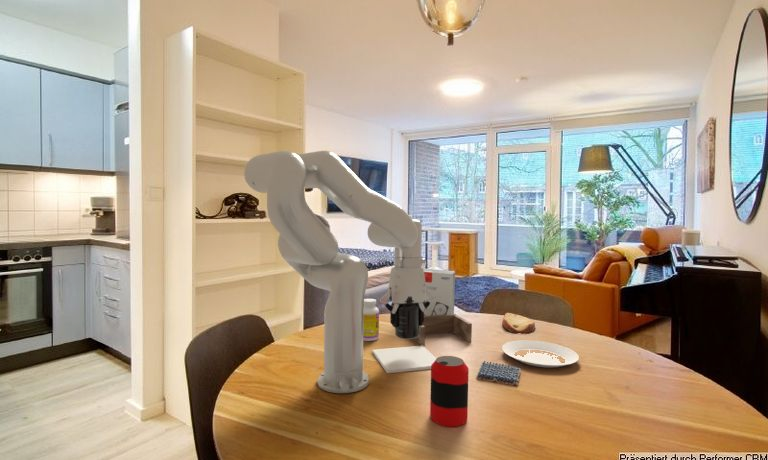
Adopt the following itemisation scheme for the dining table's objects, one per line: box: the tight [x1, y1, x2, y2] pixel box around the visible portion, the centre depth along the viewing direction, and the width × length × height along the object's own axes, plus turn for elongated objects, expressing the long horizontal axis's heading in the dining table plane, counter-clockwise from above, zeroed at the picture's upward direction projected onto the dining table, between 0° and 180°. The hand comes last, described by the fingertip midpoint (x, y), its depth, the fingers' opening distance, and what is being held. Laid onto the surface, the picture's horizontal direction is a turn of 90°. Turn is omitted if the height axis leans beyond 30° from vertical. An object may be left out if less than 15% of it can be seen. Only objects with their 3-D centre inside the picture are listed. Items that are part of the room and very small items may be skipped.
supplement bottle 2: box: [394, 296, 419, 340], centre depth 116 cm, size 7×7×12 cm
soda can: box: [429, 355, 470, 428], centre depth 84 cm, size 8×8×12 cm
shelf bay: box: [413, 313, 473, 347], centre depth 136 cm, size 12×17×6 cm
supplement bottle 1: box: [363, 298, 380, 342], centre depth 134 cm, size 7×7×13 cm
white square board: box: [371, 345, 438, 374], centre depth 116 cm, size 16×16×1 cm
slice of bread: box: [501, 312, 536, 334], centre depth 153 cm, size 18×18×4 cm
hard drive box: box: [423, 268, 456, 316], centre depth 154 cm, size 16×8×20 cm, turn 73°
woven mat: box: [475, 360, 522, 386], centre depth 106 cm, size 10×11×2 cm
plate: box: [501, 339, 580, 369], centre depth 119 cm, size 21×21×2 cm
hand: (407, 325), depth 116 cm, fingers closed on supplement bottle 2, 6 cm apart
